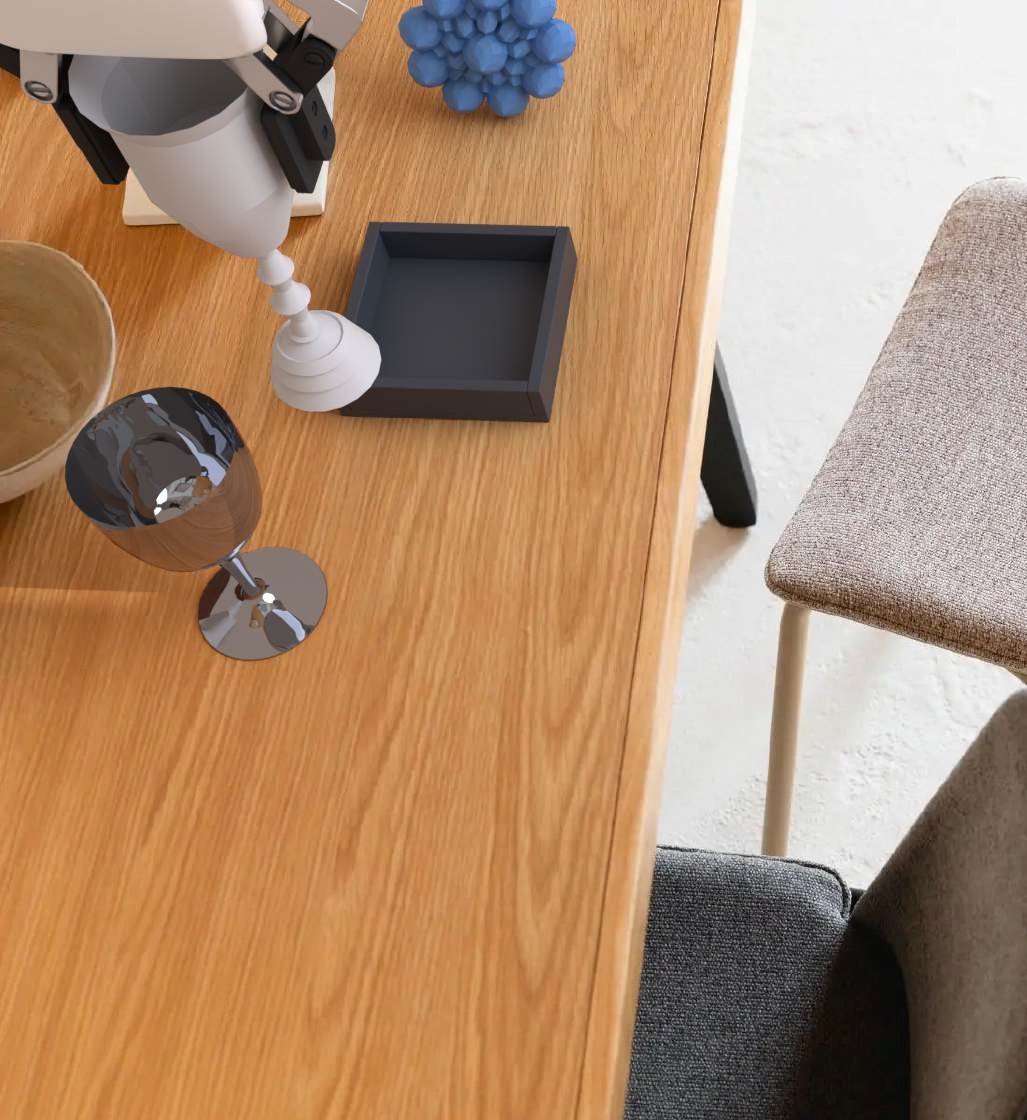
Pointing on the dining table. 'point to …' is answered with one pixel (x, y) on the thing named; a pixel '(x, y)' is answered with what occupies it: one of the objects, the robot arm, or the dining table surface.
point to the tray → (463, 319)
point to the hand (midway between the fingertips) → (217, 159)
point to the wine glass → (194, 515)
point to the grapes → (488, 51)
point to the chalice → (225, 200)
